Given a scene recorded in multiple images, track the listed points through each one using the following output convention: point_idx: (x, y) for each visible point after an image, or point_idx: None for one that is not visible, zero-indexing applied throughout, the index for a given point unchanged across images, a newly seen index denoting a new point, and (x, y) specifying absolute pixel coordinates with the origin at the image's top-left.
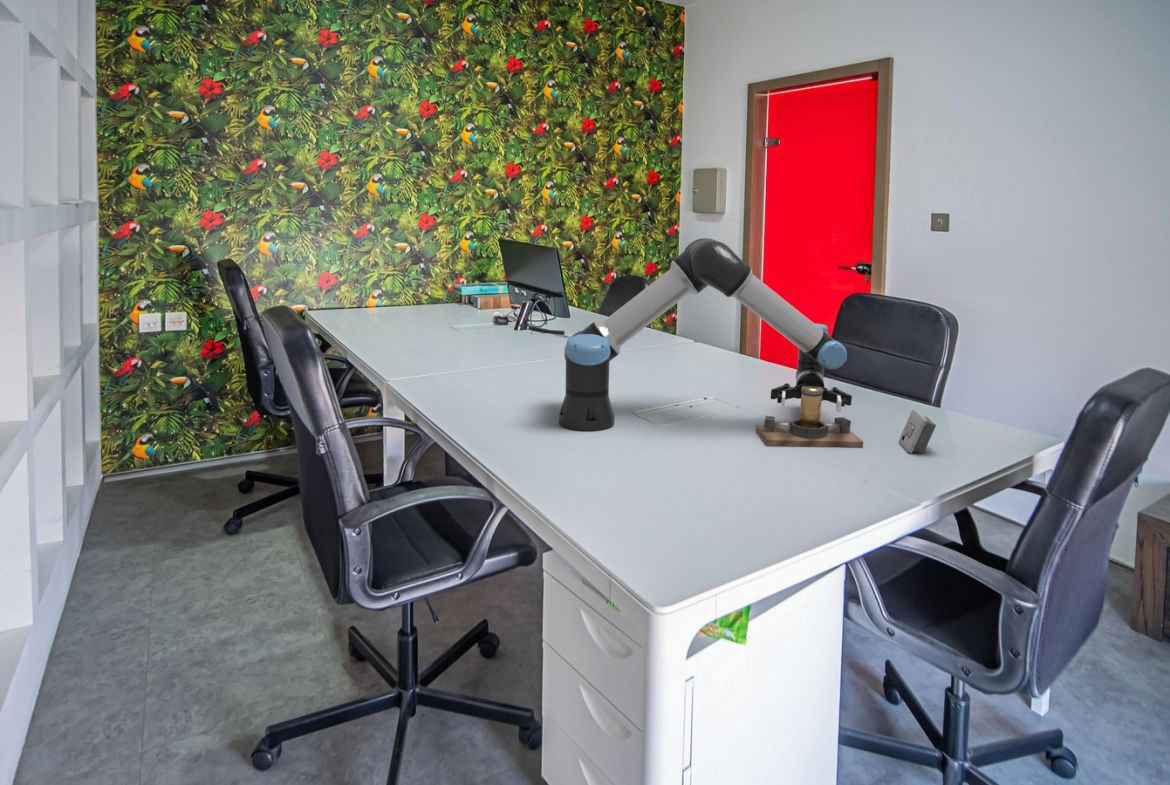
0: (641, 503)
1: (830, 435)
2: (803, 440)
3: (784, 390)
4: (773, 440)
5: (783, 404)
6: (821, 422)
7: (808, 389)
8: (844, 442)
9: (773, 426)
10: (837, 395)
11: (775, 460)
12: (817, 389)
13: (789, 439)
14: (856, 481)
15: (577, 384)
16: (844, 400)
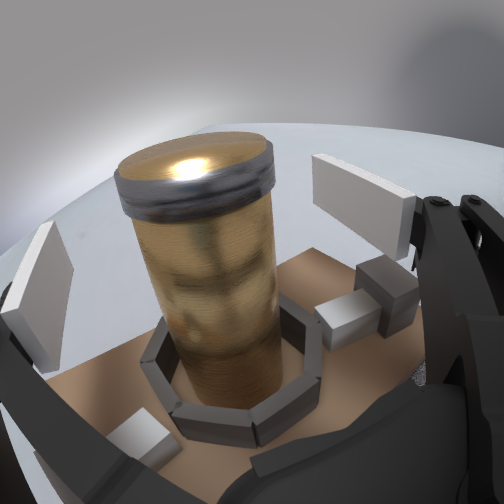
0: (292, 137)
1: (141, 401)
2: None
3: (438, 217)
4: (298, 255)
5: (316, 189)
6: (180, 405)
7: (205, 134)
8: (91, 363)
9: (355, 286)
10: (18, 305)
11: None
12: (152, 150)
13: None
14: (96, 229)
15: None
16: (4, 295)
